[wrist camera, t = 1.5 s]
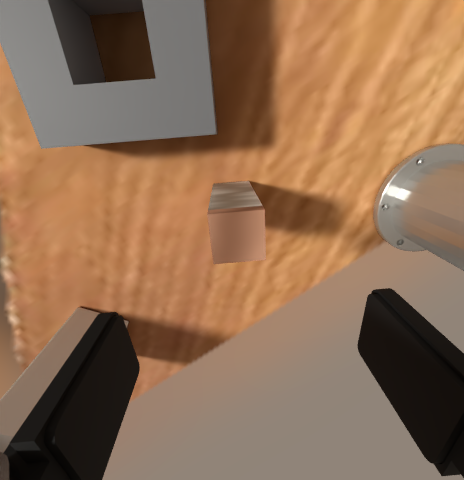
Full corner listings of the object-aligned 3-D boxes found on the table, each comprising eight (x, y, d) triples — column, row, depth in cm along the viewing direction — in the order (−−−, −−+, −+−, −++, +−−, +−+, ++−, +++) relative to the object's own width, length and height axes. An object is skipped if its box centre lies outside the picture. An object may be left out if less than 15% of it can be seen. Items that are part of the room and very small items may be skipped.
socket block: (199, -62, 18) (190, -146, 13) (217, 134, 24) (216, 134, 19) (21, -47, 18) (-65, -125, 13) (82, 145, 24) (41, 148, 19)
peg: (248, 180, 26) (264, 209, 16) (250, 214, 28) (265, 259, 18) (213, 183, 26) (207, 214, 16) (216, 217, 28) (213, 264, 18)
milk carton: (129, 320, 34) (32, 514, 17) (118, 352, 36) (24, 549, 19) (78, 305, 32) (-87, 501, 15) (71, 340, 35) (-78, 541, 18)
